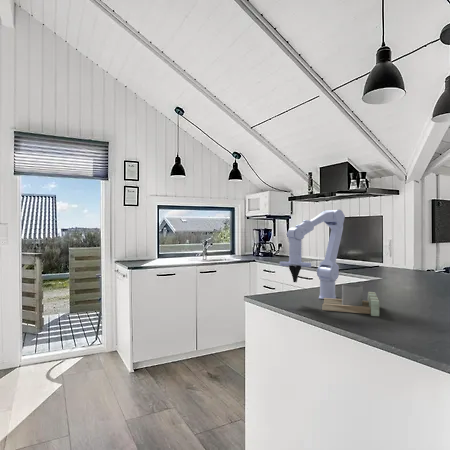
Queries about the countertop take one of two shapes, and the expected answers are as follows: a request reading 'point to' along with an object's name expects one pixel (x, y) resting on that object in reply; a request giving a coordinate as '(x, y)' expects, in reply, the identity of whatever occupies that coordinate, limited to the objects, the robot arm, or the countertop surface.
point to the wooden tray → (367, 306)
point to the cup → (352, 294)
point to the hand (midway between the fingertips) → (295, 282)
